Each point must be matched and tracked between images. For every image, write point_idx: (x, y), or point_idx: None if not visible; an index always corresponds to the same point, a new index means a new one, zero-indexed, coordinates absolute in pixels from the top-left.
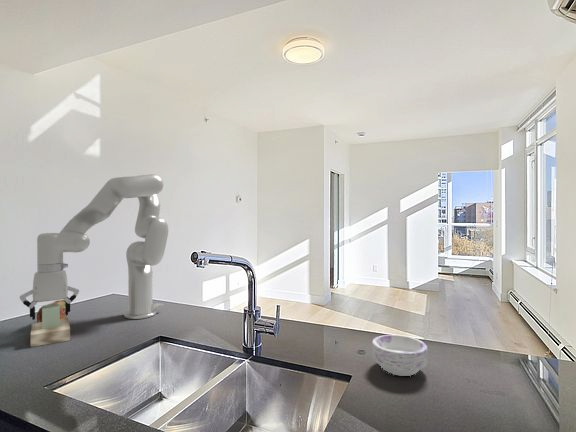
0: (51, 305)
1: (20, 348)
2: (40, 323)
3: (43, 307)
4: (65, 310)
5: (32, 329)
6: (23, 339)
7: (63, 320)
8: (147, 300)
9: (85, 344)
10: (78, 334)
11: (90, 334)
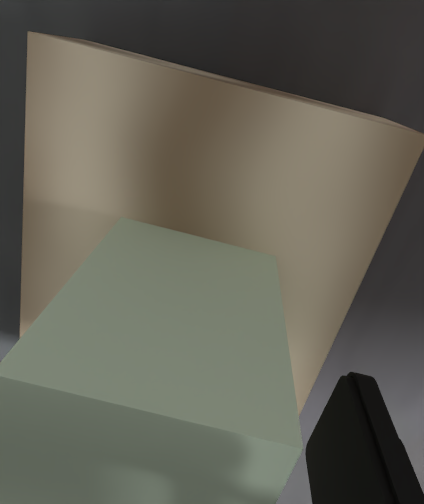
0: (145, 469)
1: (8, 321)
2: (114, 125)
3: (10, 494)
4: (338, 437)
5: (31, 285)
6: (19, 142)
7: (343, 201)
8: None
9: (300, 497)
10: (359, 333)
11: (410, 389)
